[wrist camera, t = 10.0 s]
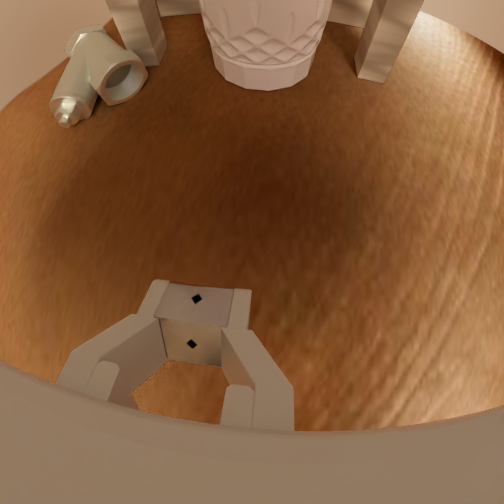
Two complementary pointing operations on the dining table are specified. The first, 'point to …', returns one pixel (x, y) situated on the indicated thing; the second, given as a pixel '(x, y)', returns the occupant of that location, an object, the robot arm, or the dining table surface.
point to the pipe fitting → (95, 75)
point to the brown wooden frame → (342, 11)
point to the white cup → (264, 39)
